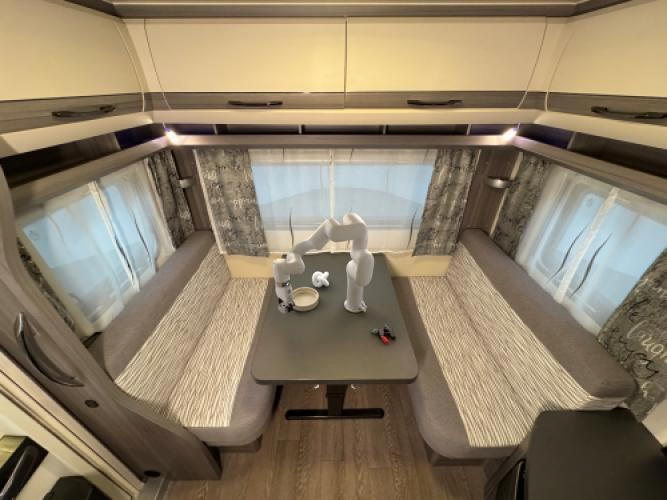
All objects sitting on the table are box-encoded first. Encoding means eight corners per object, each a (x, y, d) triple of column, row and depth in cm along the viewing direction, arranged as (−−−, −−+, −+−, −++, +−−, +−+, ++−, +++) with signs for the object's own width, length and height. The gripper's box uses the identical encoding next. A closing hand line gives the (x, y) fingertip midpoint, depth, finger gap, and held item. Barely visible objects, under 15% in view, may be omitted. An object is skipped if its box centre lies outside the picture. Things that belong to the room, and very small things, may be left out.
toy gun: (370, 330, 141) (371, 324, 138) (392, 329, 141) (393, 323, 139) (373, 345, 132) (374, 338, 130) (396, 344, 133) (397, 337, 130)
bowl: (324, 301, 162) (324, 295, 160) (302, 316, 151) (302, 310, 149) (306, 288, 173) (305, 283, 171) (284, 301, 162) (283, 296, 160)
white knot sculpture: (318, 277, 184) (318, 266, 179) (333, 281, 179) (333, 271, 174) (310, 286, 175) (309, 275, 171) (325, 291, 170) (325, 280, 166)
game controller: (285, 314, 135) (278, 305, 135) (280, 317, 139) (273, 308, 139) (296, 304, 142) (290, 295, 142) (292, 306, 146) (285, 298, 146)
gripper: (299, 285, 129) (301, 311, 138) (278, 271, 139) (282, 296, 148) (286, 292, 124) (290, 319, 133) (266, 277, 135) (271, 303, 144)
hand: (286, 307), depth 141 cm, fingers closed on game controller, 7 cm apart
